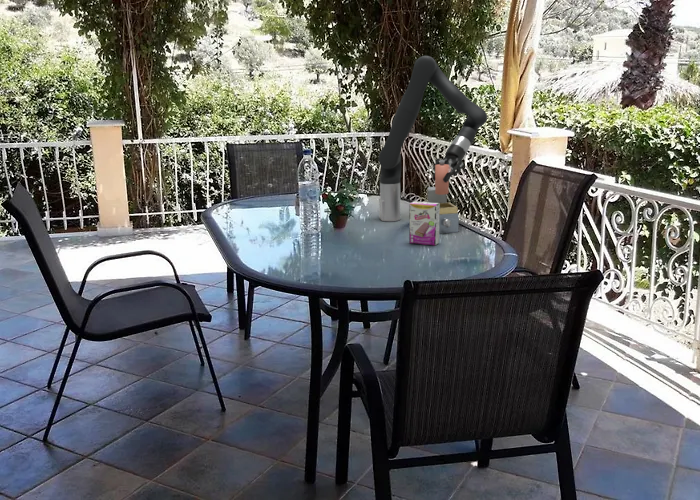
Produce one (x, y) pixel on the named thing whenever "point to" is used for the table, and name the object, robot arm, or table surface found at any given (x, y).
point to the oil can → (441, 178)
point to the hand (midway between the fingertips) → (439, 180)
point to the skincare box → (435, 196)
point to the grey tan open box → (448, 218)
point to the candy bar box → (424, 223)
